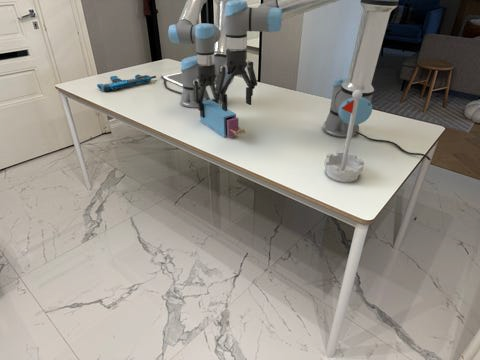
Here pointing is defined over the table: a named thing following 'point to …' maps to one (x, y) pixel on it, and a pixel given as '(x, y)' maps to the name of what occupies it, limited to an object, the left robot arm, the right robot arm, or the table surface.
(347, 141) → the flag stand
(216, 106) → the cabinet
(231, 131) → the drawer
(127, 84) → the submachine gun
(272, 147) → the table surface
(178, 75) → the tablet
